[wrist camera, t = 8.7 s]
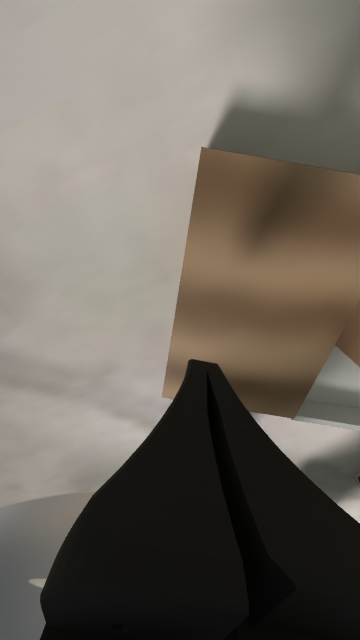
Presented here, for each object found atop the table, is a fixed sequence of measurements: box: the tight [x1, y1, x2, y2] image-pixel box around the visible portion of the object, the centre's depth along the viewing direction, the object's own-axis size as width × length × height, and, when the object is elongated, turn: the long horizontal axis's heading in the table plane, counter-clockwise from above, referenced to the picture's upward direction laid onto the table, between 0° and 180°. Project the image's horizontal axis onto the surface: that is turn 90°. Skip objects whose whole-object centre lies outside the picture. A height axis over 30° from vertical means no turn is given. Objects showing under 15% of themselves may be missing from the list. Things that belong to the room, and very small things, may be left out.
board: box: [162, 147, 360, 419], centre depth 17 cm, size 18×12×4 cm, turn 171°
